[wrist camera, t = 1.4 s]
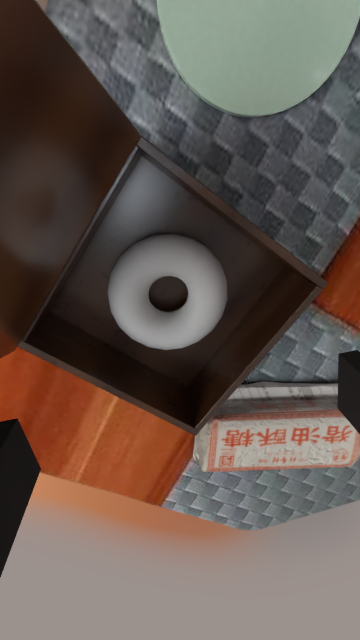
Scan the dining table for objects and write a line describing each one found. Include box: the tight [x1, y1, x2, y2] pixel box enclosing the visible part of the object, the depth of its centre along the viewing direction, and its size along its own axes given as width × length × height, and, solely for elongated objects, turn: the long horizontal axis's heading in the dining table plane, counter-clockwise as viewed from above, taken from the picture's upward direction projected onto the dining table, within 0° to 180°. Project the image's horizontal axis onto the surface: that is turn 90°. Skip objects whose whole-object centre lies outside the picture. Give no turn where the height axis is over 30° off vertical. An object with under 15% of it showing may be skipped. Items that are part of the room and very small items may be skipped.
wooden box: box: [17, 135, 328, 436], centre depth 26 cm, size 16×16×7 cm
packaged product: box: [193, 381, 360, 472], centre depth 34 cm, size 18×5×10 cm
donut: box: [107, 233, 227, 350], centre depth 27 cm, size 10×4×10 cm
